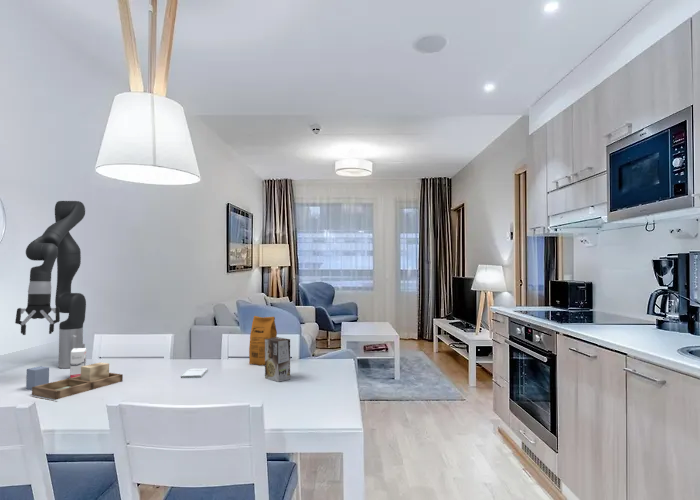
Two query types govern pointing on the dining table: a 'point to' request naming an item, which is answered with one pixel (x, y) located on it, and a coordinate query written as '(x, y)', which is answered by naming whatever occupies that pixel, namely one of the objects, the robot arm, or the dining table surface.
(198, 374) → the external hard drive
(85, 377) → the oak block
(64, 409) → the dining table surface
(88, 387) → the tray
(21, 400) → the dining table surface
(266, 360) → the coffee box
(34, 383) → the slate block
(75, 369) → the ink box
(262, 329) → the coffee package
